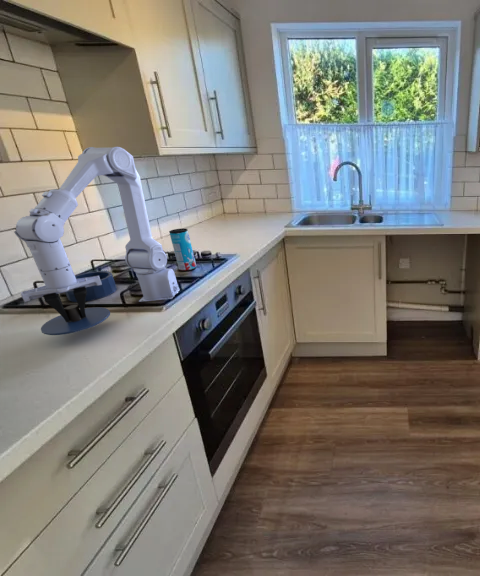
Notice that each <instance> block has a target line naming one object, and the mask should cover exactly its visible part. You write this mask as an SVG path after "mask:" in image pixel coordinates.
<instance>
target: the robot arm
mask: <svg viewBox="0 0 480 576" xmlns="http://www.w3.org/2000/svg"><path fill="white" fill-rule="evenodd" d="M100 176H104V177H106V178H108V179H109V180H111V181H112V182H114V183H115V184H117V186H118V191H119V196H120V200H121V205H122V209H123V214H124V217H125V222H126V226H127V231H128V235H129V241H128V242H127V243H126V244H125V255H124V256H125V257H124V261H125V263H126V265H127V266H128V267H129V268H131V269H132V270H133V272H134V273H135V274H136V277H137V280H138V284H139V287H140V290H141V293H142V297H141V298H140V299H139V300H138V302H141V303H142V302H152V301H161V300H172V299H173V298H174V297H175V295H176V294H178V293H179V292H180V291H181V288H180V287H179V285H178V280H177V277H176V273H175V270H174V269H173V268H166V265H167V263H168V257H167V254H166V252H165V251H164V249H163V248H164V247H163V244H161V243H160V242H159V241H157V240H156V239H155V238H153V235H152V234H153V233H152V229H151V225H150V219H149V215H148V210H147V204H146V200H145V195H144V191H143V185H142V180H141V177H140V176H141V175H140V174H139V172H138V171H137V167H136V165H135V160H134V156H133V155H132V154H131V153H130V152H128V151H127V150H126V149H125V148H123V147H120V146H112V147H94V146H90V147H86V148H85V149H84V150H83V151H82V153H81V154H79V155H78V156H77V162H76V164H75V165H74V167H73V168H72V169H71V171H70V173H69V174H68V176H67V177H66V179H65V180H64V181H63V183H62V184H61V185H60V187H59V188H58V189H49V190H48V191H44V192H43V193H42V194H41V196H42V198H41V200H40V201H39V202H38V203H37V204H36V206H35V207H34V208H30V210H29V215H25V216H22V217H21V218H19V219H18V220H17V222H16V224H15V230H14V232H13V233H14V234H15V236H16V237H17V238H18V239H19V240H22V241H23V242H24V243H25V244H26V247H27V248H28V250H29V251H30V253H31V254H30V255H31V256H32V258H33V260H34V264H35V265H36V267H37V270H38V272H39V274H40V277H41V279H42V282H43V283H44V285H42V286H39V287H35V288H32V289H28V290H24V291H21V292H20V296H21V298H22V301H23V302H24V303H26V302H31V300H32V301H33V300H36V299H40V298H43V299H44V302H45V303H46V304H47V305H48V306H50V307H51V308H53V310H55V311H56V312H57V313H58V314H59V316H60V315H61V316H62V317H63V318H64V319H65V321H66V322H70V320H69V318H68V315H67V313H66V311H65V308H66V307H64V304H63V302H62V299H61V297H60V294H62V293H65V292H67V291H72V290H73V293H74V296H75V298H76V300H77V302H76V303H77V305H78V306H79V309H80V311H81V315H82V317H83V318H85V317H86V314H85V307H86V301H85V299H86V294H87V290H86V287H90V286H94V285H97V286H98V285H102V283H101V280H100V278H99V276H94V277H87V278H80V279H76V277H75V276H76V275H75V272H74V270H73V268H72V267H73V266H72V265H71V262H70V260H69V257H68V255H67V253H66V250H65V247H64V245H63V242H62V239H61V238H62V237H63V236H64V235H65V228H64V226H65V224H66V222H67V221H68V219H69V218H70V217H71V215H72V214H73V213H74V211H75V210H76V209H77V208H78V207H79V203H78V200H77V198H78V196H80V195H81V193H82V192H83V191H84V190H85V189H86V188H87V187H88V186H89V185H90V184H91V183H92V181H94V179H96V177H100Z"/></svg>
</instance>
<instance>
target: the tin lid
mask: <svg viewBox="0 0 480 576" xmlns="http://www.w3.org/2000/svg"><path fill="white" fill-rule="evenodd" d="M64 308H65V311H66V313H67V315H68V318H69V320H70V322H66V321H65V319H64V318H63V317H62V316H61V315H60V314H59V315H58V316H55V317H53V318H51V319H49V320H47V321H46V322H45V323H43V324H42V326H41V327H40V331H41V333H42V334H44V335H47V336H62V335H68V334H69V335H70V334H73V333H78V332H81V331H85V330H88V329H90V328H93V327H96V326H98V325H100V324H101V323H103V322H104V321H106V320H107V319H108V318H109V317H110V316H111V311H110V310H109V309H108V308H107V307H102V306H101V307H98V306H97V307H95V306H94V307H86V308H85V314H86V317H85V318H83V317H82V315H81V311H80V308H79V305H78V304H70V305H68V306H66V307H64Z"/></svg>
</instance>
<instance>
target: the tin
mask: <svg viewBox="0 0 480 576" xmlns="http://www.w3.org/2000/svg"><path fill="white" fill-rule="evenodd" d="M94 276H99V278H100V280H101V283H102V285H98V286H97V285H94V286H90V287H86V290H87V294H86V299H85V302H90V301H94V300H99V299H102V298H105V297H108V296H111V295H112V294H113V293H115V292H116V291H117V290H118V289H117V284H116V282H115V278H114V276H113V273H112V272H110V271H108V270H106V269H105V270H98V271H90V272H85V273H84V272H83V273H80V274H76V275H75V277H76V279H80V278H87V277H94ZM64 294H65V296H66V298H67V299H68V301H70V302H73V303H77V300H76V298H75V296H74V293H73V290H72V291H67V292H64Z"/></svg>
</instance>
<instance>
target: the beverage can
mask: <svg viewBox="0 0 480 576" xmlns="http://www.w3.org/2000/svg"><path fill="white" fill-rule="evenodd" d="M168 232H169V236H170V240H171V244H172V248H173V251H174V255H175V259H176V263H177V267H178V270H179V271H180V272H191V271H194V270H196V269H197V263H196V259H195V254H194V250H193V245H192V242H191V237H190V234H189V231H188V228H174V229H171V230H169V231H168Z"/></svg>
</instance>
